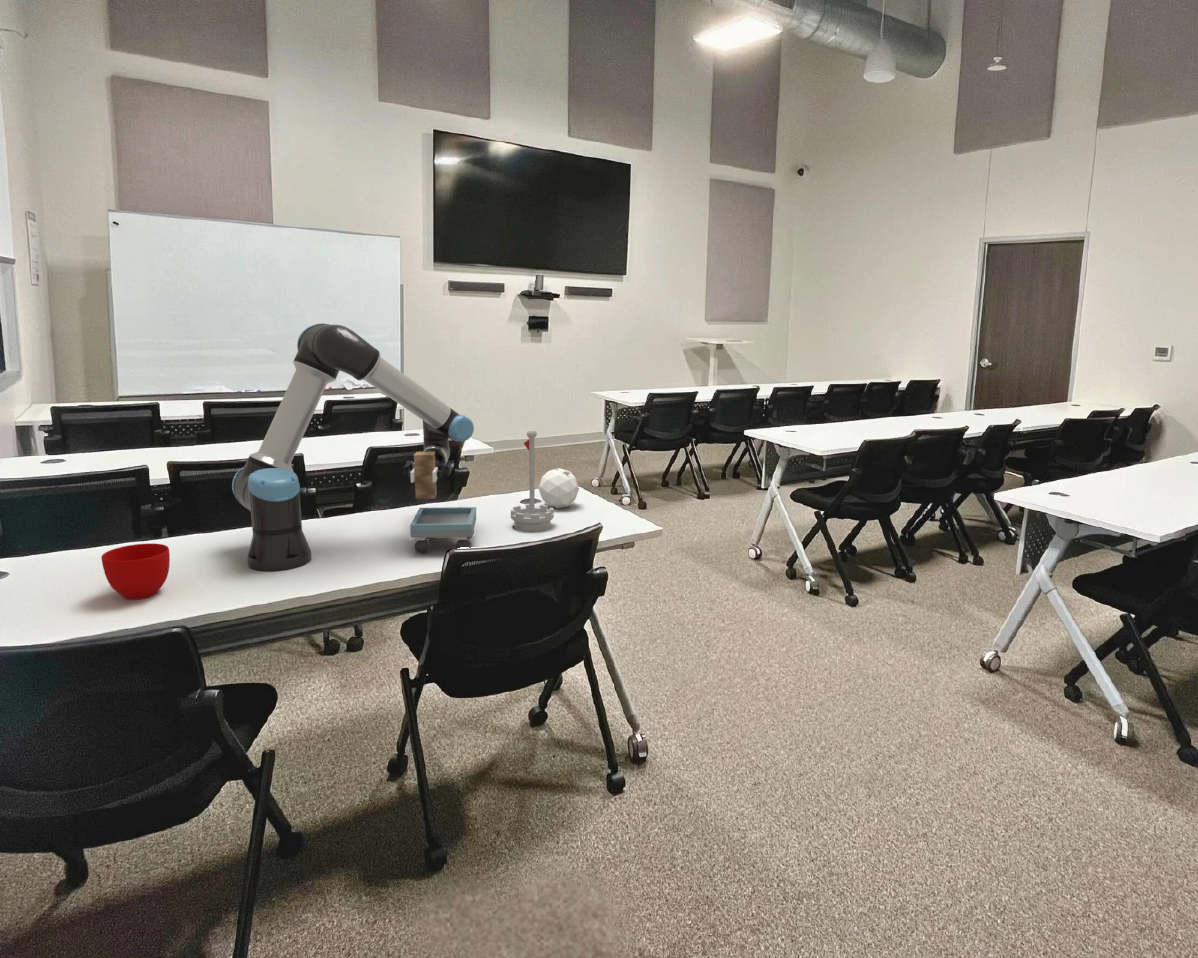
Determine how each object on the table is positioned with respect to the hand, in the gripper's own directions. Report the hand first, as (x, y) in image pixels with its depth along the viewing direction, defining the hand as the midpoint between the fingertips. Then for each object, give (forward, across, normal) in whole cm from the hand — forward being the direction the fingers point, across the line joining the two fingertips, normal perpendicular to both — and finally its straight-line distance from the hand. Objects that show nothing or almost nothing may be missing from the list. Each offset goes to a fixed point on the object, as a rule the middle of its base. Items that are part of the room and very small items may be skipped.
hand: (423, 477), depth 198 cm
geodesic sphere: (-46, -38, -21) cm, 63 cm away
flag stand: (-23, -29, -21) cm, 43 cm away
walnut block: (-5, 0, -6) cm, 8 cm away
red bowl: (+26, +61, -20) cm, 70 cm away
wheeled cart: (-5, -5, -21) cm, 22 cm away
